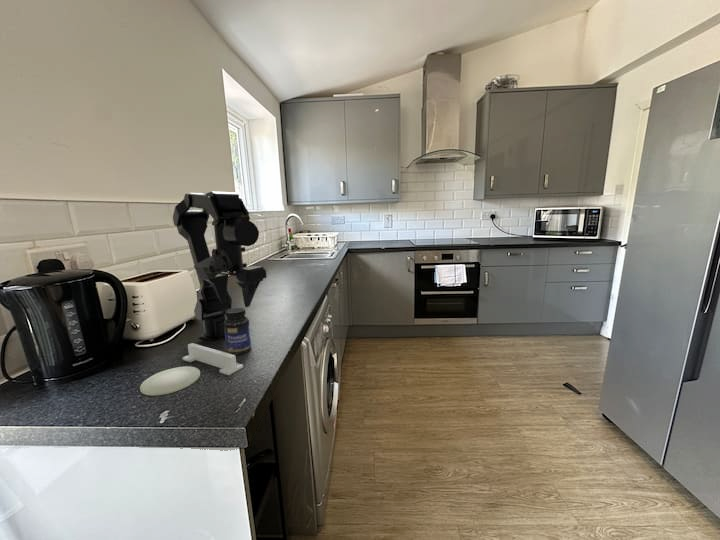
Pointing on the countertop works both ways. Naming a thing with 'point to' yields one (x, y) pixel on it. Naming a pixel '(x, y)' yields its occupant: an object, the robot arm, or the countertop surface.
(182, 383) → the pad
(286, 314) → the countertop surface
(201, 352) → the low wall
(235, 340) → the pill bottle
